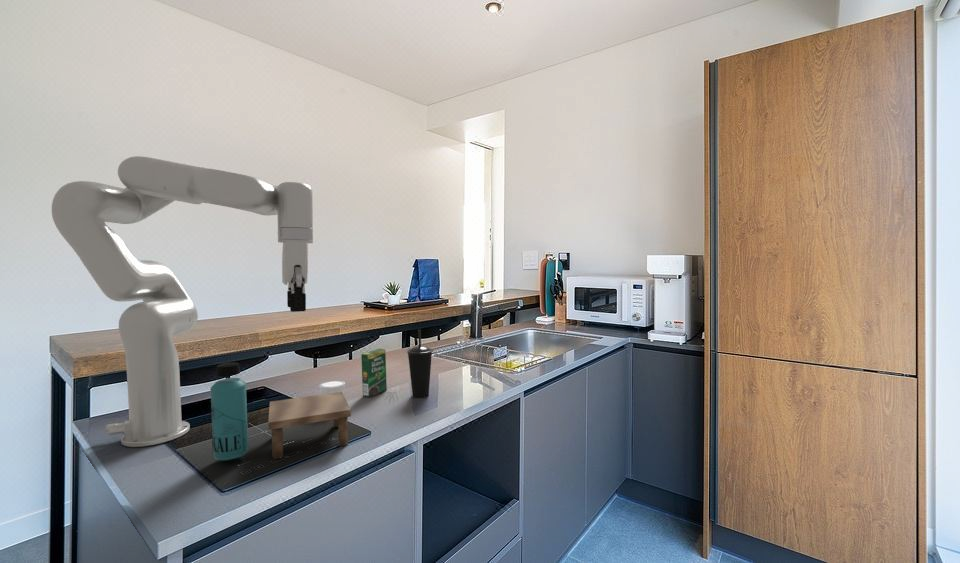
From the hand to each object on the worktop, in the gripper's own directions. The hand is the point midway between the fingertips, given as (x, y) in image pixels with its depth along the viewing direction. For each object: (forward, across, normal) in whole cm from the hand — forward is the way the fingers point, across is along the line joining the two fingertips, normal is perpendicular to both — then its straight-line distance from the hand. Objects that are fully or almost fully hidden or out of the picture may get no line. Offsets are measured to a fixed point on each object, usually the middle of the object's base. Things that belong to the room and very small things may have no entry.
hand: (296, 309), depth 98 cm
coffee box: (+29, -18, +23) cm, 41 cm away
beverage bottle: (+30, +10, -13) cm, 34 cm away
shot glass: (+29, -11, +10) cm, 33 cm away
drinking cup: (+29, -10, +35) cm, 46 cm away
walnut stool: (+29, +8, +2) cm, 30 cm away
